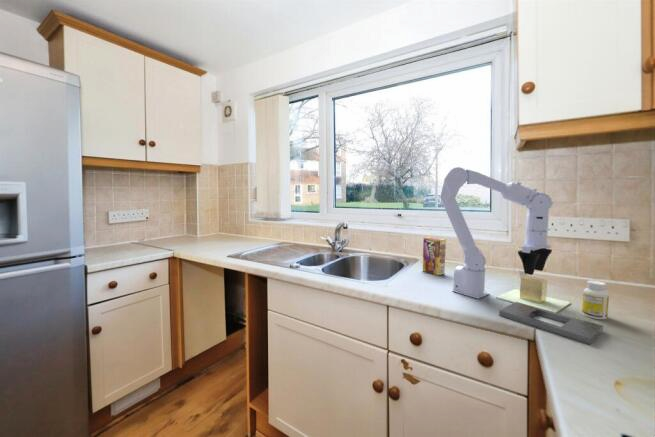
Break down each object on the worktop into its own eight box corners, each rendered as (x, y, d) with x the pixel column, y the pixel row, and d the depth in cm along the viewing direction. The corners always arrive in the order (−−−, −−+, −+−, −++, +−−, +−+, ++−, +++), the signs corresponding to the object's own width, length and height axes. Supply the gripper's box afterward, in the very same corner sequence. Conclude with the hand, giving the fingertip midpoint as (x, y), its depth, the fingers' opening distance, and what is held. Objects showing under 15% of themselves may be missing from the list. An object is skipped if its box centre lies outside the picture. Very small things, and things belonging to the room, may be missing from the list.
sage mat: (496, 298, 98) (496, 296, 98) (515, 289, 106) (515, 288, 106) (554, 314, 85) (554, 313, 85) (570, 303, 93) (570, 302, 93)
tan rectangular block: (519, 298, 96) (520, 277, 96) (524, 295, 99) (526, 275, 98) (541, 303, 91) (542, 282, 91) (546, 301, 94) (547, 279, 93)
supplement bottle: (594, 311, 86) (597, 279, 85) (612, 319, 81) (615, 285, 80) (576, 312, 86) (579, 279, 85) (593, 320, 81) (596, 285, 80)
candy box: (445, 274, 126) (446, 239, 125) (438, 275, 124) (440, 240, 122) (428, 269, 133) (429, 236, 132) (422, 271, 131) (422, 237, 130)
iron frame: (499, 315, 84) (499, 310, 84) (516, 306, 91) (516, 301, 90) (589, 344, 68) (590, 338, 68) (602, 331, 74) (603, 325, 74)
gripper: (542, 233, 86) (539, 278, 87) (560, 229, 94) (557, 271, 96) (515, 231, 92) (513, 273, 93) (534, 227, 100) (532, 266, 101)
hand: (533, 272), depth 95 cm, fingers open, 7 cm apart
